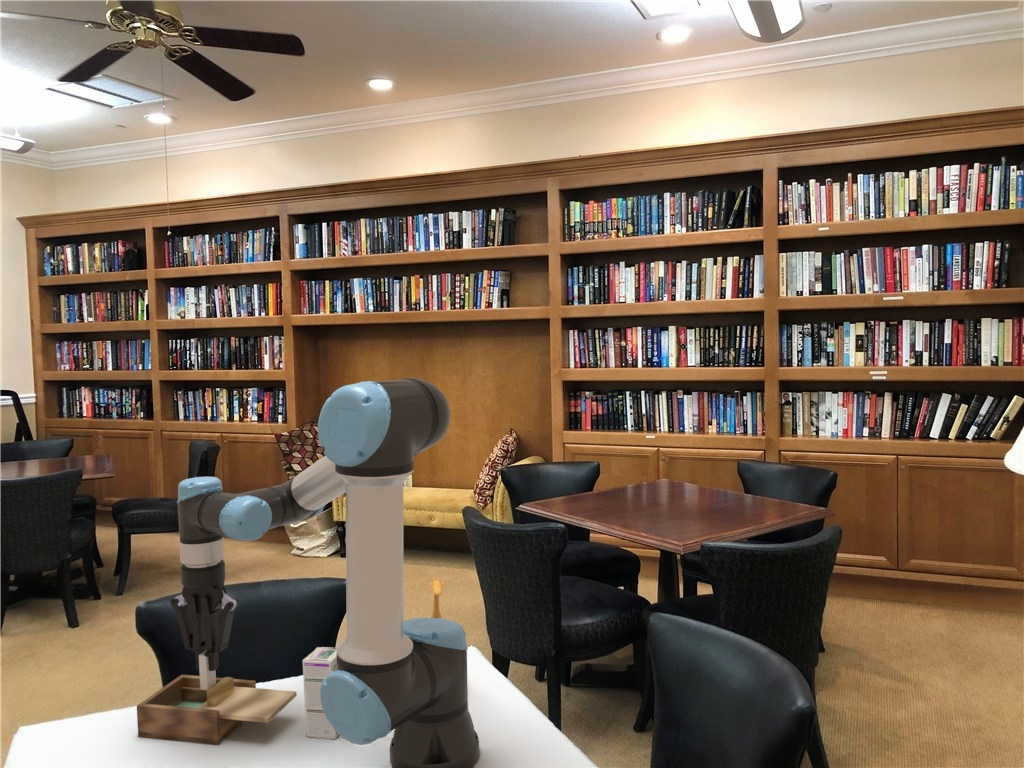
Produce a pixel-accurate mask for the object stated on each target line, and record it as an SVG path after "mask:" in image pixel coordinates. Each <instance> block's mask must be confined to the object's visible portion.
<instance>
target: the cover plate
mask: <svg viewBox="0 0 1024 768" xmlns="http://www.w3.org/2000/svg"><path fill="white" fill-rule="evenodd" d="M223 678H224V679H222V680H221V681H220V682H218V683H217V684H216V685H214V686H213V687H212V688H210V689H209V690H208V691H207V701H206V702H205V703H203V704H202V705H201V706H199V707H198V709H209V710H219V711H220V718H222V719H232V720H243V721H244V722H257V723H266V724H269V723H270V722H271V721H272V719H274V718H275V717H276V716H277V715H278V714H279V713H280V712H282V710H283V709H284V708H285V707H286V706H287V705H288V704H290V702H292V701H293V700H294V699H295V698H296V697H297V691H294V690H284V689H283V690H282V689H268V688H257V687H256V688H248V687H237V686H234V685H233V679H234V677H231V676H225V677H223Z"/></svg>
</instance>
